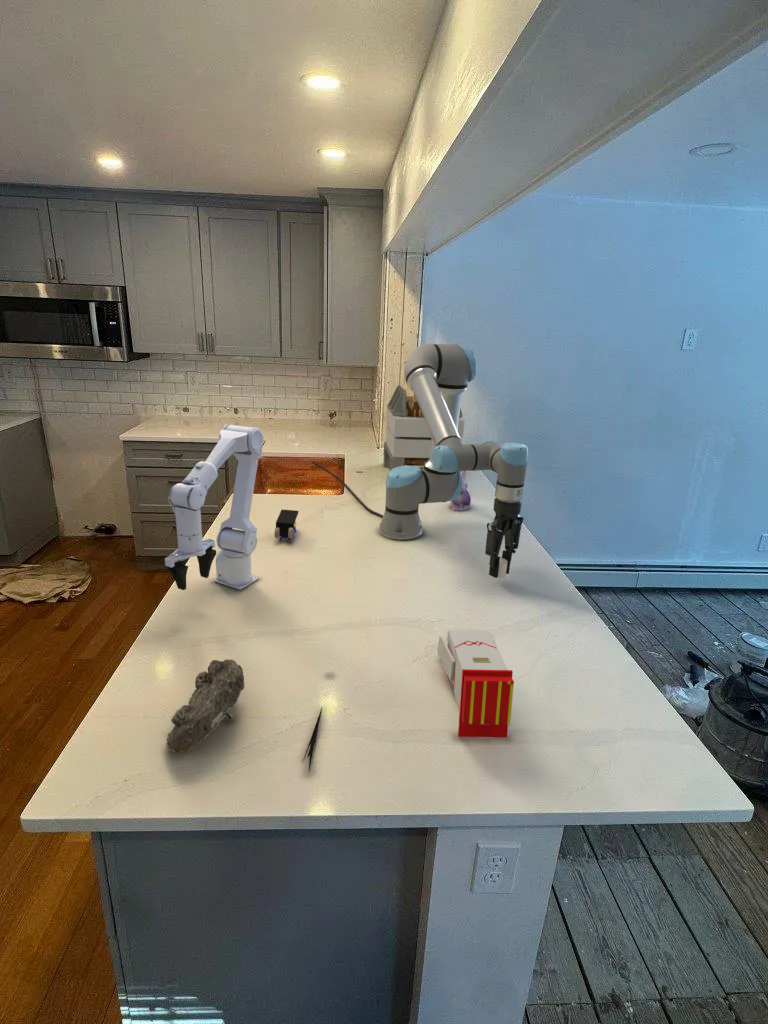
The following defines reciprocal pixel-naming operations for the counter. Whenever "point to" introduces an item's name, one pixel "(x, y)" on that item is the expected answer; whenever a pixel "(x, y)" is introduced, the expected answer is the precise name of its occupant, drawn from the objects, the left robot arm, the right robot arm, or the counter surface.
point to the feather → (313, 740)
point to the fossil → (206, 705)
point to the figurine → (462, 497)
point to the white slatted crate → (408, 432)
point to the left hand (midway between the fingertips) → (193, 582)
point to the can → (502, 568)
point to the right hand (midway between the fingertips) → (498, 573)
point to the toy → (478, 682)
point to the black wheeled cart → (286, 524)
